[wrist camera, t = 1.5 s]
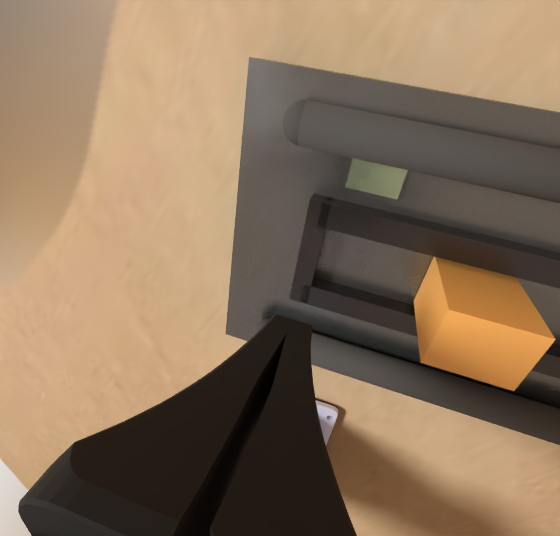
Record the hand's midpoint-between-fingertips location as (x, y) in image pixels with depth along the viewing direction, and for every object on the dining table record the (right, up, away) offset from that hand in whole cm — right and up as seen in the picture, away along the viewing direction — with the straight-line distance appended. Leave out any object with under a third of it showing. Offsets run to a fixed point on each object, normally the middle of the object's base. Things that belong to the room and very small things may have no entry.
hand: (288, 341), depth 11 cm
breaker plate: (+9, +2, +6) cm, 11 cm away
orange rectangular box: (+9, +2, +5) cm, 10 cm away
